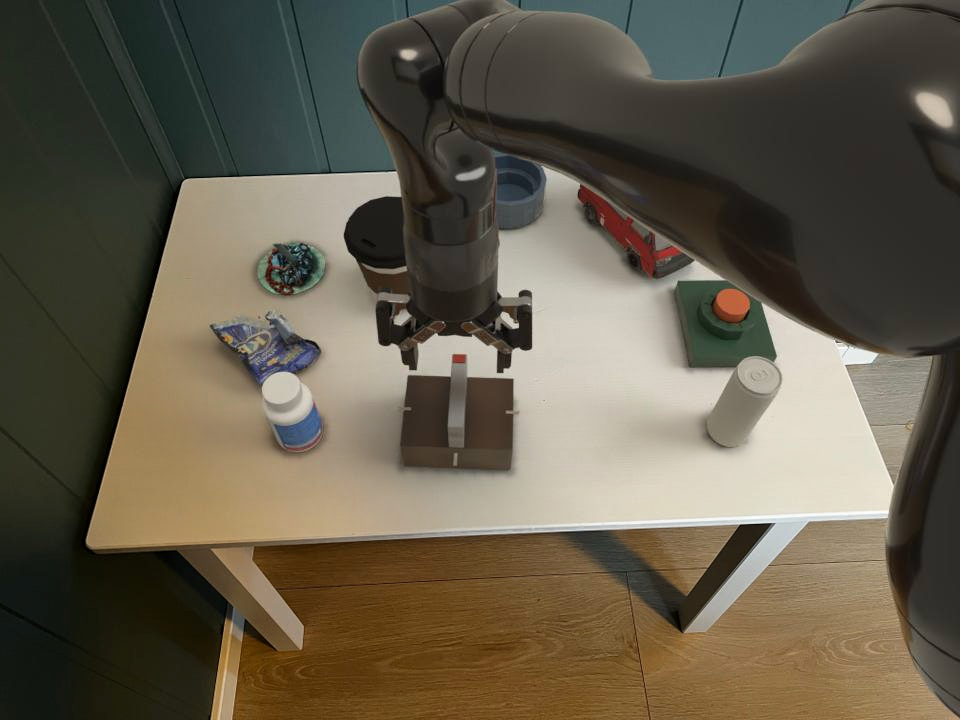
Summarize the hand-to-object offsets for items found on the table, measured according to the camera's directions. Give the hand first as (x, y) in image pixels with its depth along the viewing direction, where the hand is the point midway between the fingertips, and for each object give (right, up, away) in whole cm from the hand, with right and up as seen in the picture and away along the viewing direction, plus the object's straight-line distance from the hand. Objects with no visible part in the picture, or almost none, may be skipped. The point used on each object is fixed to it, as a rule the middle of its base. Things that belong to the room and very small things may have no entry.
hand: (457, 364), depth 72 cm
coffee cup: (-9, +9, +24) cm, 27 cm away
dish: (-23, +12, +26) cm, 37 cm away
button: (+33, +7, +17) cm, 38 cm away
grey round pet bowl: (+6, +23, +32) cm, 40 cm away
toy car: (+24, +17, +29) cm, 41 cm away
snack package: (-24, +1, +18) cm, 30 cm away
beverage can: (+31, -8, +12) cm, 34 cm away
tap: (0, -5, +8) cm, 9 cm away
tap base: (0, -8, +12) cm, 14 cm away
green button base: (+33, +5, +20) cm, 39 cm away
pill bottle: (-18, -8, +12) cm, 23 cm away
